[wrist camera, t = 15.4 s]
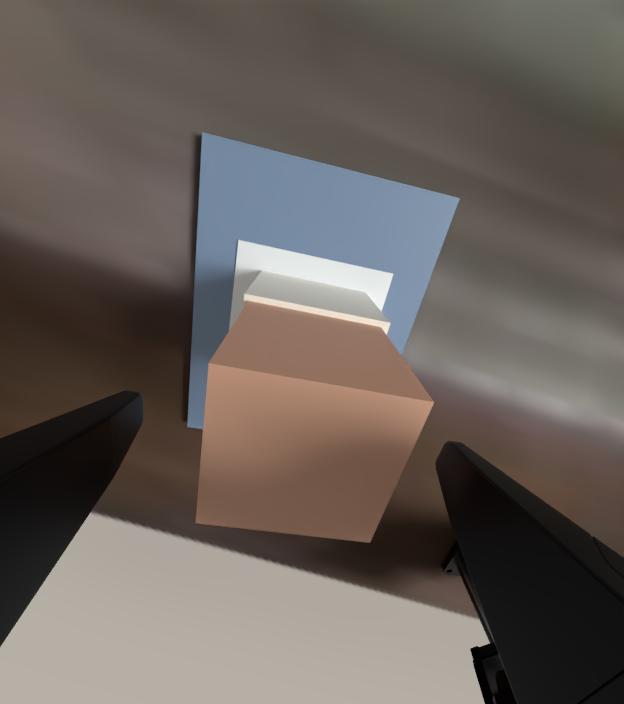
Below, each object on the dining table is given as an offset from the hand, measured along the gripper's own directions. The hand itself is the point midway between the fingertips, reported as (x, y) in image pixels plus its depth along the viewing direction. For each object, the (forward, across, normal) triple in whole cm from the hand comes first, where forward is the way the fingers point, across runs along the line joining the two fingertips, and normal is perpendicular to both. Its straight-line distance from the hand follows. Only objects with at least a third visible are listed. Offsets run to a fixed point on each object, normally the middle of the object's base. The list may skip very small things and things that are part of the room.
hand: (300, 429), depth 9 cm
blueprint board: (+9, 0, 0) cm, 9 cm away
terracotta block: (+4, 0, 0) cm, 4 cm away
